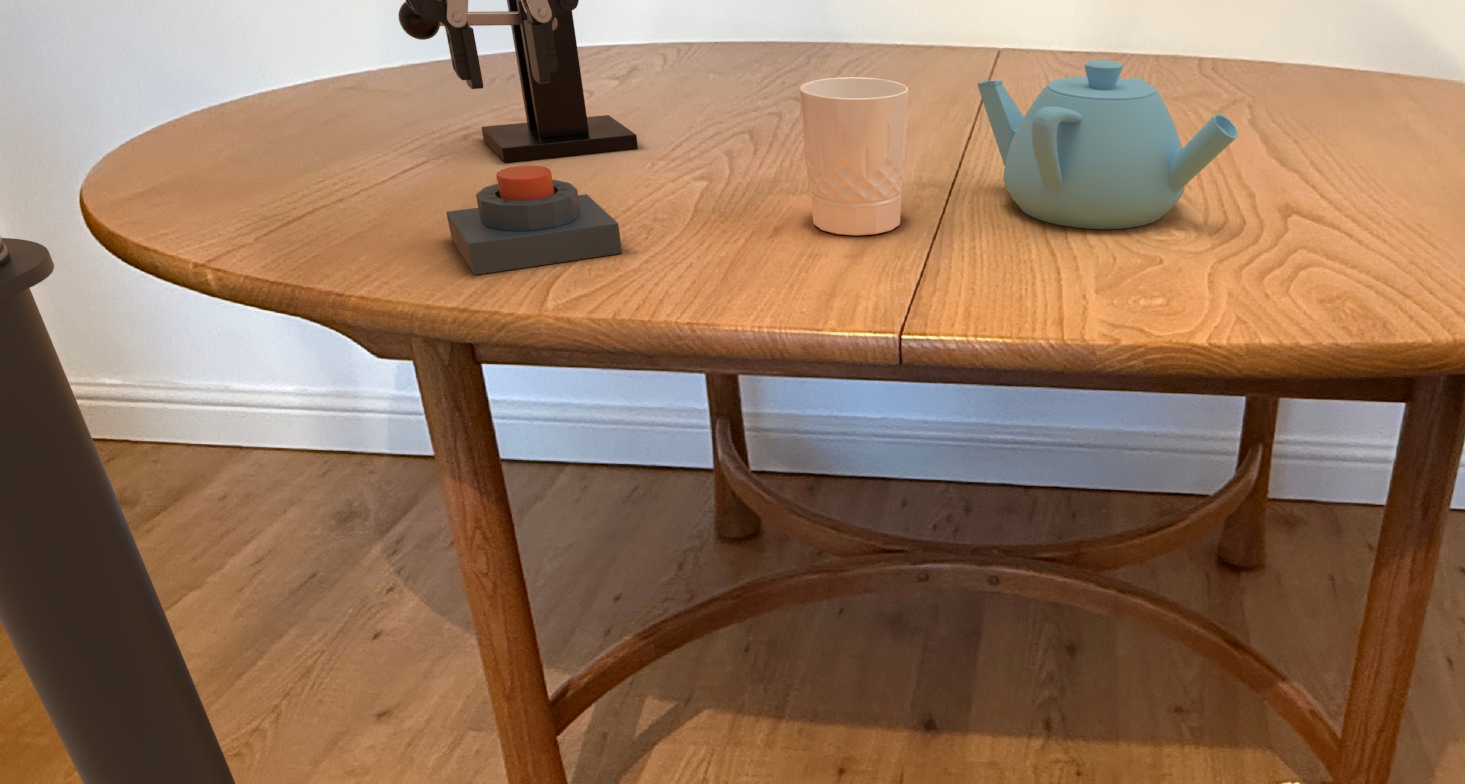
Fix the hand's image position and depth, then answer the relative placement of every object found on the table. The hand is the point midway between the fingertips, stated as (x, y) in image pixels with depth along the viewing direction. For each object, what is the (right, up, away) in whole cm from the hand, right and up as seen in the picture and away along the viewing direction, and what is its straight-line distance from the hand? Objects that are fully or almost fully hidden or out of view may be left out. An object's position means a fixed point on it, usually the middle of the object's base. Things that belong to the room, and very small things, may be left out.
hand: (508, 82), depth 76 cm
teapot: (+41, -4, +17) cm, 45 cm away
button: (0, -7, +4) cm, 8 cm away
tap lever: (-11, +13, +24) cm, 29 cm away
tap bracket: (-7, +6, +31) cm, 32 cm away
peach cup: (+22, -6, +12) cm, 26 cm away
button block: (0, -10, +6) cm, 11 cm away
